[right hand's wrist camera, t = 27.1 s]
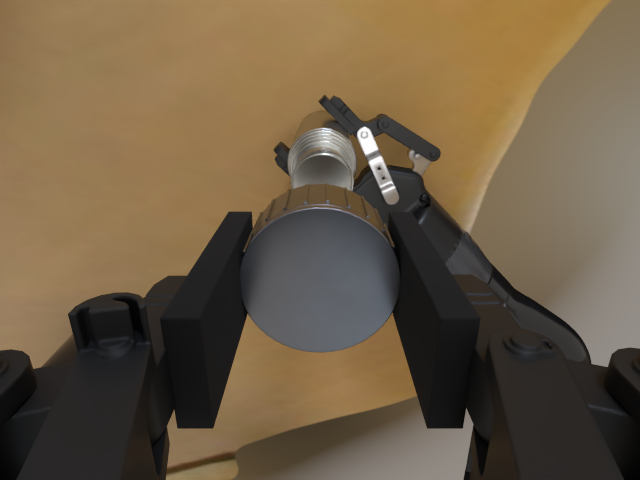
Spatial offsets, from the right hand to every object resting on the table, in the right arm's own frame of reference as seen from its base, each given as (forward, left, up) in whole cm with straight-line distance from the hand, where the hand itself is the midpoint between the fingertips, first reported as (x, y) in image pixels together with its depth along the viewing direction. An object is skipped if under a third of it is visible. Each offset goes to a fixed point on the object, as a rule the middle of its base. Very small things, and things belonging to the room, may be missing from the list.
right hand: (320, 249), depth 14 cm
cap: (0, 0, +2) cm, 2 cm away
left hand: (-2, +2, -23) cm, 23 cm away
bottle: (0, 0, -29) cm, 29 cm away
